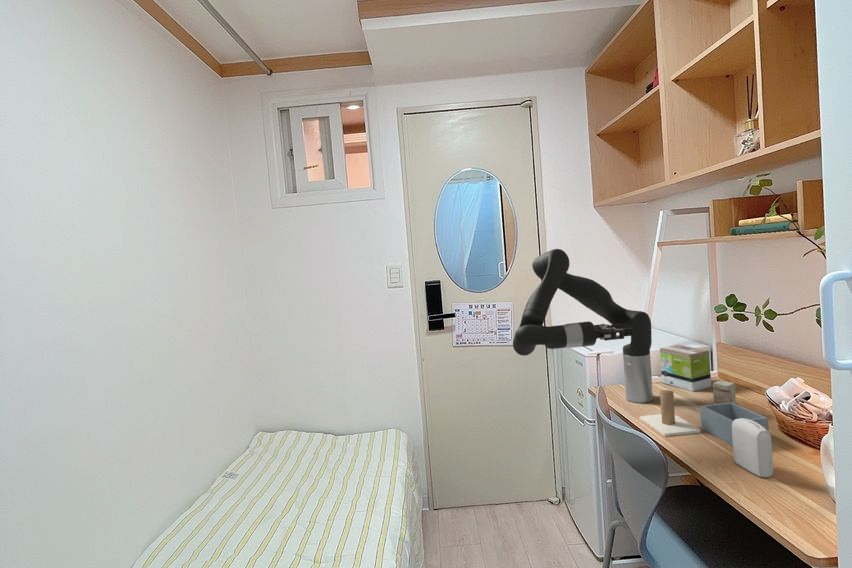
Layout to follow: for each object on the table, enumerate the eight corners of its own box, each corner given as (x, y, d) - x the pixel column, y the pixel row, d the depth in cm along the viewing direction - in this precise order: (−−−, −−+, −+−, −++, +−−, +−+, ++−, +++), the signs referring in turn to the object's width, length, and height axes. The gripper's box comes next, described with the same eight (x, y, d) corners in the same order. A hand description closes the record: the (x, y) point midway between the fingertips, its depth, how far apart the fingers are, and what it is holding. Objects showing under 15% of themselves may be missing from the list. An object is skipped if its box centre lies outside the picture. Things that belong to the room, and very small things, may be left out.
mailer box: (701, 428, 152) (700, 405, 152) (732, 424, 153) (731, 402, 152) (734, 446, 137) (733, 422, 137) (769, 442, 138) (767, 418, 137)
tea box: (661, 383, 201) (658, 347, 200) (679, 379, 204) (677, 343, 203) (693, 392, 186) (690, 353, 186) (712, 387, 190) (710, 349, 189)
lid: (640, 419, 165) (637, 386, 164) (672, 416, 165) (670, 383, 164) (664, 437, 149) (662, 401, 148) (700, 433, 149) (698, 397, 148)
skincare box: (713, 412, 164) (711, 382, 164) (721, 409, 166) (719, 379, 166) (729, 416, 160) (727, 385, 159) (737, 412, 162) (735, 382, 161)
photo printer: (730, 461, 129) (728, 415, 128) (746, 459, 129) (744, 413, 129) (759, 479, 119) (756, 429, 118) (776, 477, 119) (774, 427, 118)
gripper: (585, 326, 146) (638, 320, 147) (568, 319, 160) (617, 314, 161) (587, 351, 147) (640, 345, 147) (570, 342, 161) (618, 337, 162)
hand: (628, 329), depth 154 cm, fingers open, 8 cm apart
